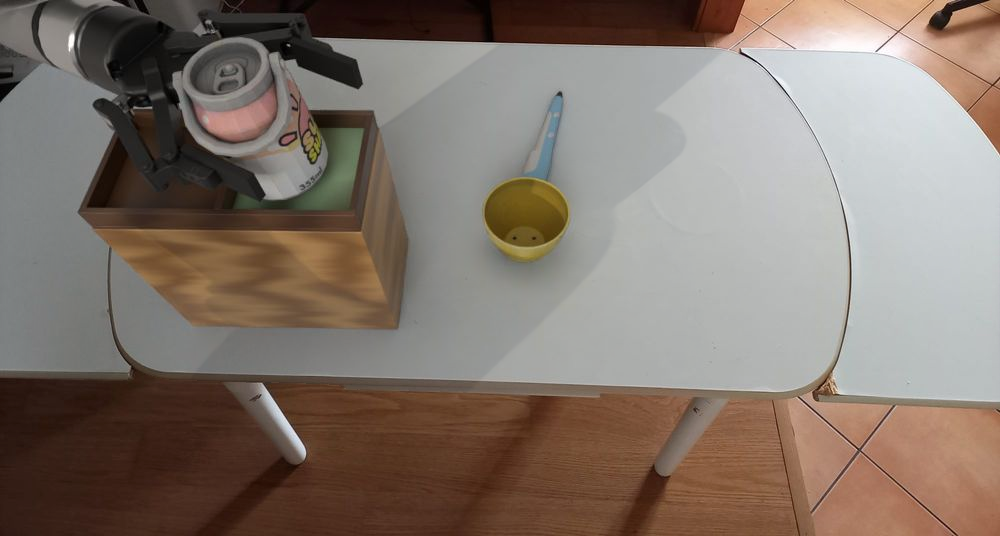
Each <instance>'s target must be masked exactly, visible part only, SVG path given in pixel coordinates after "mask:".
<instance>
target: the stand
mask: <svg viewBox="0 0 1000 536" xmlns="http://www.w3.org/2000/svg"><path fill="white" fill-rule="evenodd" d="M399 201H400V200H399V198H398V193H397V190H396V186H395V182H394V179H393V174H392V171H391V166H390V163H389V159H388V155H387V151H386V148H385V144H384V141H383V137H382V133H381V129H380V127H378V132H377V138H376V144H375V150H374V156H373V162H372V168H371V174H370V180H369V186H368V192H367V198H366V204H365V210H364V216H363V222H362V228H361V232H344V231H260V230H176V229H94V228H92V231H93V232H94V233H95V234H96V235H97V236H99V238H101V239H102V241H104V242H105V243H106V245H108V246H109V247H110V248H111V249H112V250H113V251H114V252H115V253H116V254H117V255H118V256H119V257H120V258H121V259H122V260H123V261H125V263H127V265H129V266H130V267H131V269H133V270H134V271H135V272H136V273H137V274H138V275H139V276H140V277H141V278H142V279H143V280H144V281H145V282H146V283H147V284H148V285H150V287H152V288H153V289H154V290H155V291H156V292H157V293H158V294H159V296H161V297H162V298H163V299H164V300H165V301H166V302H167V303H168V304H170V305H171V307H173V308H174V309H175V311H177V312H178V313H179V314H180V315H181V316H182V318H184V319H185V320H186V321H187V322H188V323H189V324H190V325H191V326H193V327H233V328H234V327H237V328H239V327H241V328H243V327H244V328H293V329H294V328H298V329H299V328H300V329H301V328H303V329H306V328H307V329H360V330H361V329H362V330H363V329H364V330H365V329H367V330H398V329H399V324H400V315H401V307H402V299H403V292H404V291H403V290H404V281H405V274H406V273H405V272H406V263H407V258H408V257H407V256H408V247H409V236H408V232H407V228H406V224H405V221H404V217H403V213H402V210H401V209H402V208H401V205H400V202H399Z"/></svg>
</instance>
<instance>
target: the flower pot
mask: <svg viewBox="0 0 1000 536" xmlns="http://www.w3.org/2000/svg"><path fill="white" fill-rule="evenodd" d="M571 213H572V212H571V207H570V203H569V201H568V199H567V197H566V196H565V194H564V192H563V191H562V190H561V189H559V188H558V186H556V185H554V184H553V183H552V182H549V181H547V180H546V181H544V180H541V179H538V178H533V177H522V176H520V177H513V178H510V179H507V180H505V181H502V182H500V183H499V184H498V185H497V184H496V186H494V188H492V189H491V190H490V192H489V193H487V196H486V198H485V199H484V202H483V205H482V219H483V224H484V227H485V229H486V232H487V235H488V237H489V238H490V240H491V241H492V243H493V244H494V246H495V247H496V248H497V249H498V250H499V252H501V253H502V254H503V255H504V256H506V257H507V258H509V259H511V260H513V261H515V262H520V263H531V262H535V261H538V260H541V259H542V258H543V257H545V256H546V255H548V254H549V253H551V252H552V251H553V250H554V249H555V247H556V246H557V245H558V244H559V243H560V241H561V240H562V238H563V237H564V235H565V233H566V231H567V229H568V226H569V224H570V221H571ZM514 238H515V239H514ZM533 238H534V239H533Z"/></svg>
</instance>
